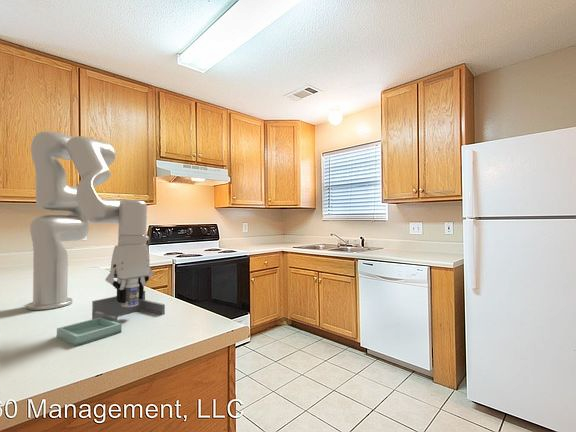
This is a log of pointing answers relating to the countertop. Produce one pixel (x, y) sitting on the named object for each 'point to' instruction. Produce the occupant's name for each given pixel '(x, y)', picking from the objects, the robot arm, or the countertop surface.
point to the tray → (88, 331)
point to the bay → (122, 308)
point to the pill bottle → (131, 293)
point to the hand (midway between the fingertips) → (130, 299)
